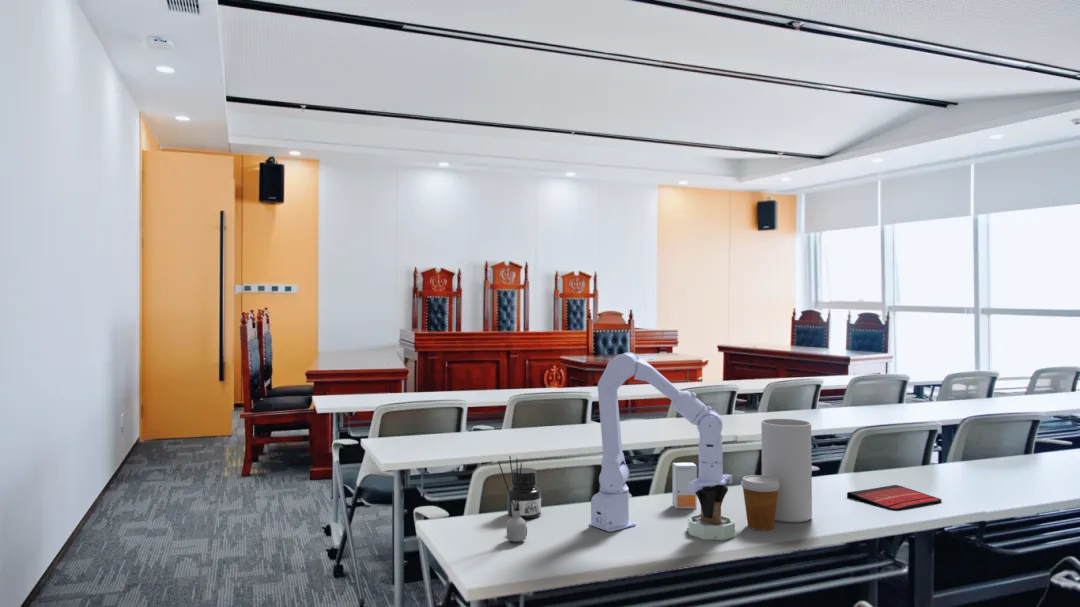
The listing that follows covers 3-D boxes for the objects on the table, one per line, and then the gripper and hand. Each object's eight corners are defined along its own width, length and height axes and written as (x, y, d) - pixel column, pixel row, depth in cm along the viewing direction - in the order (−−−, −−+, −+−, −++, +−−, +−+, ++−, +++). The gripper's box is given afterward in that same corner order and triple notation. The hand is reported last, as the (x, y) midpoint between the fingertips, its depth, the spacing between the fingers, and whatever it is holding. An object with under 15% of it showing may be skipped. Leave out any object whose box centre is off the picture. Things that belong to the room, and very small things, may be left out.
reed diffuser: (532, 545, 165) (532, 460, 165) (504, 549, 162) (504, 462, 163) (518, 533, 174) (518, 452, 175) (491, 536, 172) (491, 454, 172)
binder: (846, 491, 206) (895, 483, 216) (846, 499, 206) (895, 491, 216) (895, 507, 192) (945, 498, 201) (895, 515, 192) (945, 506, 201)
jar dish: (714, 543, 166) (714, 529, 166) (678, 531, 175) (678, 518, 175) (743, 534, 173) (743, 520, 173) (707, 523, 182) (707, 511, 182)
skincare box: (675, 509, 195) (675, 465, 195) (672, 504, 199) (672, 462, 200) (697, 508, 195) (697, 465, 195) (693, 504, 200) (693, 462, 200)
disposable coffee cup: (744, 531, 175) (743, 483, 175) (738, 520, 184) (738, 474, 185) (784, 533, 174) (783, 484, 174) (776, 521, 183) (776, 475, 183)
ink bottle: (512, 521, 184) (512, 475, 184) (501, 513, 192) (501, 468, 192) (547, 517, 188) (547, 472, 188) (535, 509, 196) (534, 465, 196)
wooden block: (716, 532, 172) (715, 503, 172) (701, 528, 175) (700, 499, 175) (721, 530, 173) (720, 502, 173) (706, 526, 176) (705, 498, 176)
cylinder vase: (822, 519, 185) (821, 423, 185) (787, 526, 179) (786, 427, 180) (786, 507, 196) (785, 417, 196) (752, 513, 190) (751, 420, 191)
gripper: (704, 467, 167) (705, 525, 166) (742, 459, 175) (742, 514, 175) (681, 462, 172) (681, 518, 172) (719, 455, 181) (719, 508, 181)
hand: (711, 516), depth 174 cm, fingers closed on wooden block, 2 cm apart
